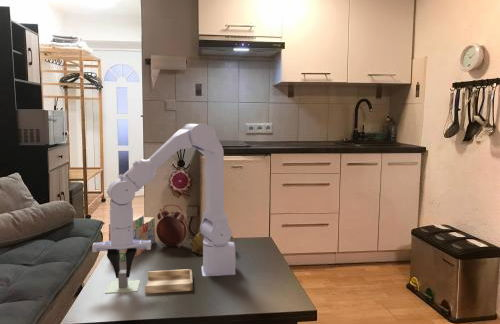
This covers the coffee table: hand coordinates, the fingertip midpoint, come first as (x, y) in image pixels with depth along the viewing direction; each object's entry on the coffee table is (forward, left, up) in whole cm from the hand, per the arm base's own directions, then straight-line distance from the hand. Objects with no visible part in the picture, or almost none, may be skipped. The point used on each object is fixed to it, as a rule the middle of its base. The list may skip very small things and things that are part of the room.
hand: (123, 276), depth 106 cm
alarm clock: (-12, -34, -4) cm, 36 cm away
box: (-12, 0, -3) cm, 12 cm away
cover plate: (0, 0, -3) cm, 3 cm away
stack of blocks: (+1, -31, -4) cm, 31 cm away
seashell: (-25, -27, -4) cm, 38 cm away
